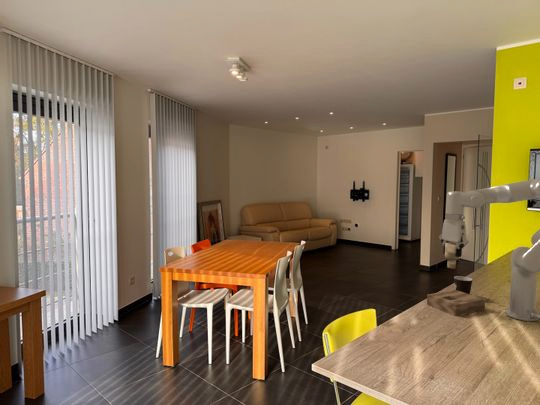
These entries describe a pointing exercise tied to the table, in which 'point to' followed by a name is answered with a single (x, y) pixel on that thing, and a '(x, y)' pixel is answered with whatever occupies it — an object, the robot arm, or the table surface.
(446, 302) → the board
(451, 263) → the peg
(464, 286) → the coffee mug
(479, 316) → the table surface
